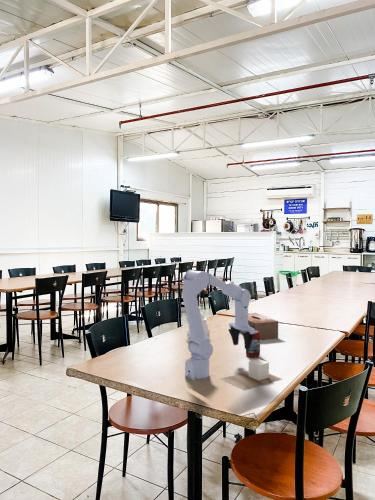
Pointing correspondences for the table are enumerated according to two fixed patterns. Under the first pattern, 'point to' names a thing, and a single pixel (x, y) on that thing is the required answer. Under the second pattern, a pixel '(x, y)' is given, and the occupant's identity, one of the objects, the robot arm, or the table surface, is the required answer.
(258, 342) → the beverage can
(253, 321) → the tissue box cover
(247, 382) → the board
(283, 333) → the table surface
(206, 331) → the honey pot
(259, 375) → the plaster cube
